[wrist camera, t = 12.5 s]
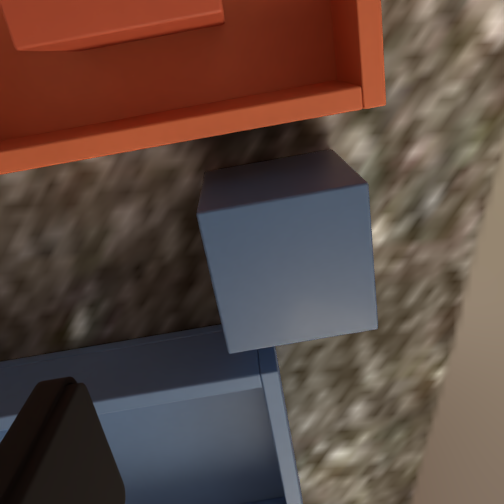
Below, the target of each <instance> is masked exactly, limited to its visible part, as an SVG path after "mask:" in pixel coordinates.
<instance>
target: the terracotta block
mask: <svg viewBox="0 0 504 504" xmlns="http://www.w3.org/2000/svg"><path fill="white" fill-rule="evenodd" d="M0 7H1V10H2V13H3V15H4V18H5V21H6V24H7V27H8V30H9V33H10V36H11V39H12V42H13V45H14V47H15V49H16V50H19V51H85V50H90V49H95V48H101V47H106V46H112V45H117V44H122V43H128V42H133V41H139V40H144V39H149V38H155V37H160V36H165V35H171V34H176V33H182V32H187V31H192V30H198V29H203V28H209V27H214V26H219V25H223V24H224V23H225V18H224V11H223V4H222V0H0Z"/></svg>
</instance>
